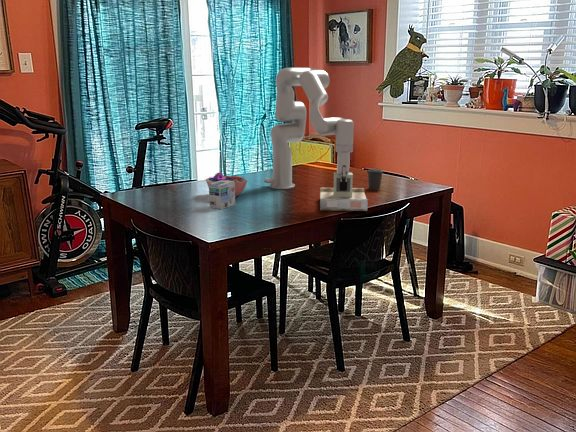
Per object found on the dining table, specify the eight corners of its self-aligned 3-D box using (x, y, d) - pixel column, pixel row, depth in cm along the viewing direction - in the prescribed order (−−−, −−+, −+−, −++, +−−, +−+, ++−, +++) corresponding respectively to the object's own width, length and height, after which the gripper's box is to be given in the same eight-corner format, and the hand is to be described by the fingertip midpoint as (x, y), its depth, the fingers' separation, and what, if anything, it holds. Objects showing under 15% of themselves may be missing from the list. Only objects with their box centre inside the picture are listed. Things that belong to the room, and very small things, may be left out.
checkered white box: (320, 211, 246) (320, 198, 244) (320, 199, 267) (320, 187, 265) (367, 211, 245) (367, 199, 243) (363, 199, 266) (364, 188, 264)
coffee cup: (372, 186, 293) (373, 167, 290) (385, 189, 287) (386, 169, 285) (362, 188, 287) (363, 169, 285) (375, 191, 282) (376, 171, 279)
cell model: (238, 202, 261) (237, 177, 258) (199, 198, 267) (198, 174, 264) (253, 194, 276) (252, 171, 273) (215, 191, 283) (215, 168, 280)
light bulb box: (221, 209, 248) (220, 185, 245) (208, 207, 252) (207, 183, 249) (236, 204, 257) (235, 180, 254) (224, 202, 260) (223, 179, 258)
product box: (333, 194, 258) (333, 172, 255) (351, 194, 258) (352, 172, 255) (333, 197, 253) (334, 174, 250) (352, 197, 253) (352, 174, 250)
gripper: (334, 145, 258) (334, 184, 263) (336, 151, 242) (334, 193, 247) (351, 145, 258) (350, 184, 263) (354, 151, 241) (352, 193, 246)
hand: (343, 188), depth 255 cm, fingers open, 5 cm apart
